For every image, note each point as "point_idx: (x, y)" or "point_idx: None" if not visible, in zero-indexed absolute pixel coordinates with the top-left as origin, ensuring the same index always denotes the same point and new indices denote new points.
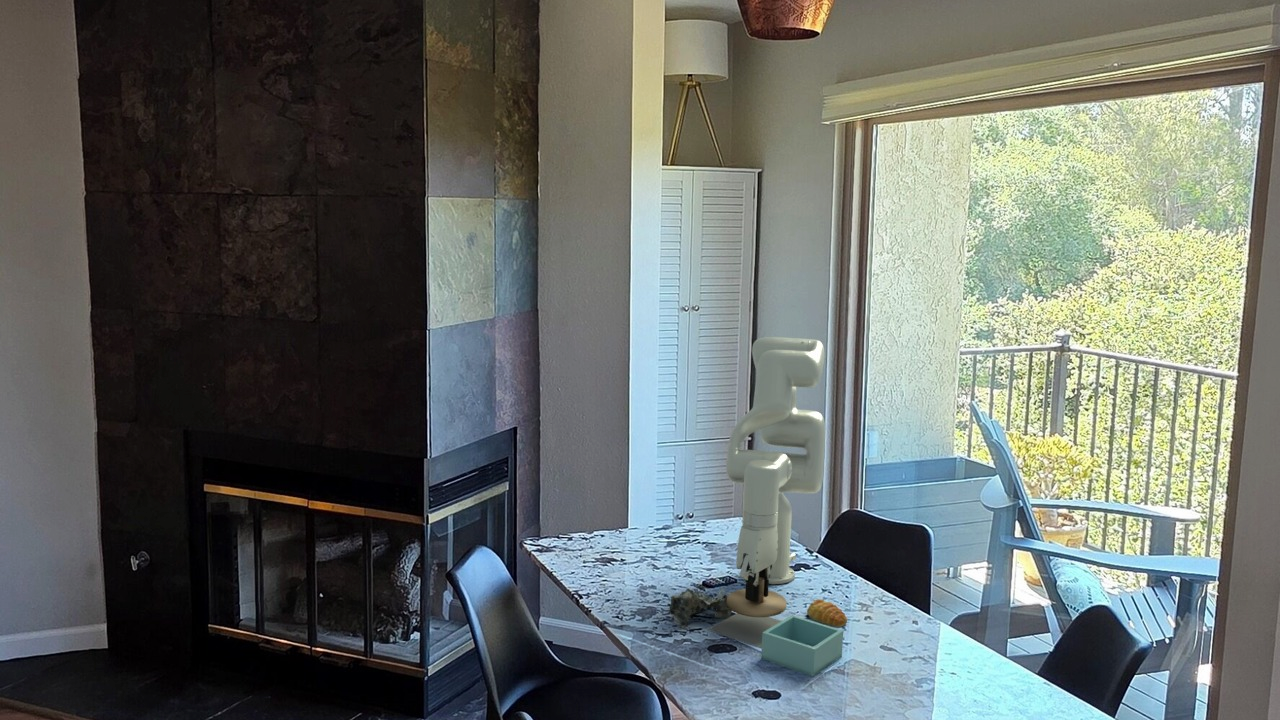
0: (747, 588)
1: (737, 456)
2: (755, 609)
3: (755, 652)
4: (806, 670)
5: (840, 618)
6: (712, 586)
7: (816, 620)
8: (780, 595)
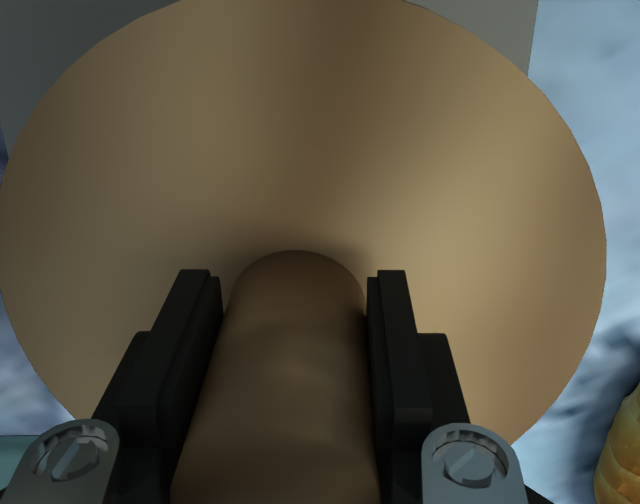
0: (104, 401)
1: None
2: None
3: (19, 374)
4: None
5: None
6: None
7: (622, 413)
8: (546, 403)
